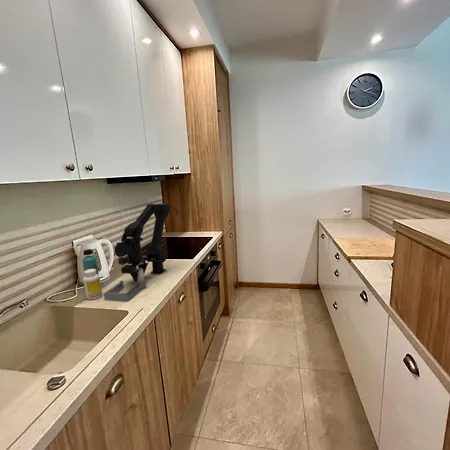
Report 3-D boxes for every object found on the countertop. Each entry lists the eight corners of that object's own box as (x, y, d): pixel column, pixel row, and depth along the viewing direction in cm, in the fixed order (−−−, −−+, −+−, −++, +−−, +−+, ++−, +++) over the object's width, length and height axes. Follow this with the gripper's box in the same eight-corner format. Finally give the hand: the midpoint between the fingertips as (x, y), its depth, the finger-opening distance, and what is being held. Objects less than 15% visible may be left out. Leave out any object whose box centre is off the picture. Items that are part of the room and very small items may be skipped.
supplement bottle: (105, 295, 122) (101, 269, 119) (92, 301, 116) (87, 274, 113) (96, 292, 125) (92, 267, 122) (83, 298, 119) (78, 272, 117)
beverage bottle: (85, 292, 126) (78, 252, 122) (88, 286, 132) (81, 248, 128) (99, 289, 127) (93, 250, 123) (102, 284, 134) (96, 247, 130)
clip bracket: (121, 285, 131) (121, 280, 130) (146, 287, 127) (146, 281, 127) (102, 299, 117) (101, 293, 117) (129, 301, 114) (129, 295, 113)
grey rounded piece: (137, 280, 137) (136, 267, 135) (146, 280, 135) (144, 268, 134) (131, 284, 132) (130, 271, 130) (141, 285, 130) (139, 272, 129)
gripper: (131, 245, 141) (135, 272, 144) (109, 256, 123) (113, 286, 126) (150, 245, 138) (153, 273, 141) (129, 257, 120) (134, 288, 124)
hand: (139, 279), depth 133 cm, fingers closed on grey rounded piece, 5 cm apart
